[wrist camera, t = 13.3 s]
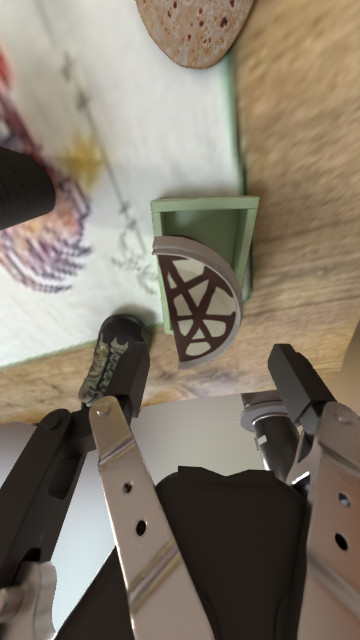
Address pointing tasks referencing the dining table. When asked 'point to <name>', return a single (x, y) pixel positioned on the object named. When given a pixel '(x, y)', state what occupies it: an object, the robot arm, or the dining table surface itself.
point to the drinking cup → (23, 189)
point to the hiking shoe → (111, 354)
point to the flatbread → (194, 28)
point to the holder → (208, 230)
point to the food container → (198, 298)
